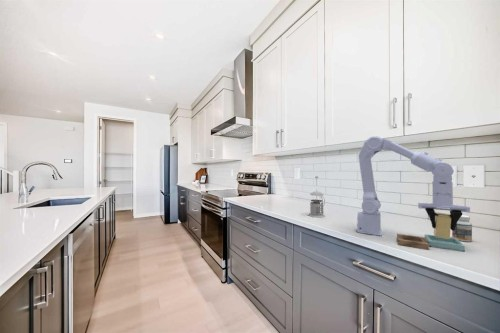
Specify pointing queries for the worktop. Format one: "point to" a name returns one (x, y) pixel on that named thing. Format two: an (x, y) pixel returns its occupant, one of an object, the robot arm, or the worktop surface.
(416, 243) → the holder block
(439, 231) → the brass pin
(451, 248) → the tray
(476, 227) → the worktop surface
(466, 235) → the pill bottle
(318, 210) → the french press
